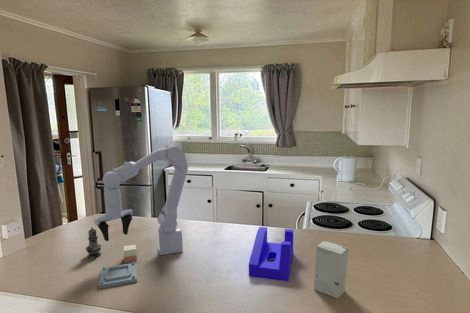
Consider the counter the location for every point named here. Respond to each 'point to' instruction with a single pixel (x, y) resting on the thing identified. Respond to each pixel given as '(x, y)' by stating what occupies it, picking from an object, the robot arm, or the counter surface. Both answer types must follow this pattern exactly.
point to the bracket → (271, 256)
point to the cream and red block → (130, 253)
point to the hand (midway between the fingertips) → (116, 237)
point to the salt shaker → (93, 245)
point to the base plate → (118, 275)
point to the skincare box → (331, 269)
